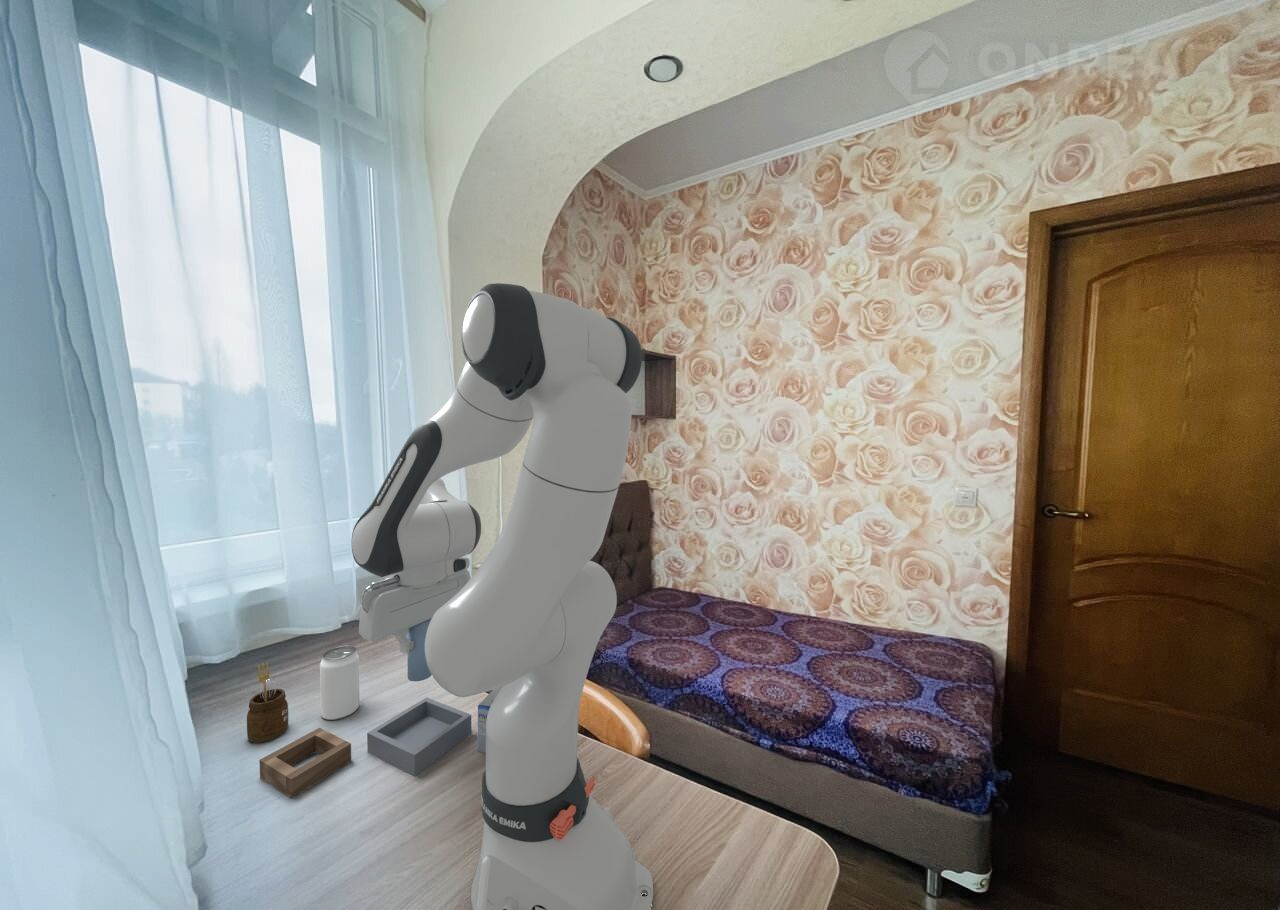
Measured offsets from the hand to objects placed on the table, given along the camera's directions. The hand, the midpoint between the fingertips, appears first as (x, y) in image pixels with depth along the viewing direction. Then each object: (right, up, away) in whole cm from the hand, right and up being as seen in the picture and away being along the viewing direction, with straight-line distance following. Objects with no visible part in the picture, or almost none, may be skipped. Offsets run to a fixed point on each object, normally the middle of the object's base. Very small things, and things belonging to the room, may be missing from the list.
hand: (420, 644), depth 82 cm
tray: (0, -18, +1) cm, 18 cm away
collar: (-16, -18, -6) cm, 25 cm away
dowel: (0, -6, 0) cm, 6 cm away
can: (-20, -17, +10) cm, 28 cm away
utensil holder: (-29, -18, +3) cm, 34 cm away
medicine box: (+14, -18, +2) cm, 23 cm away
